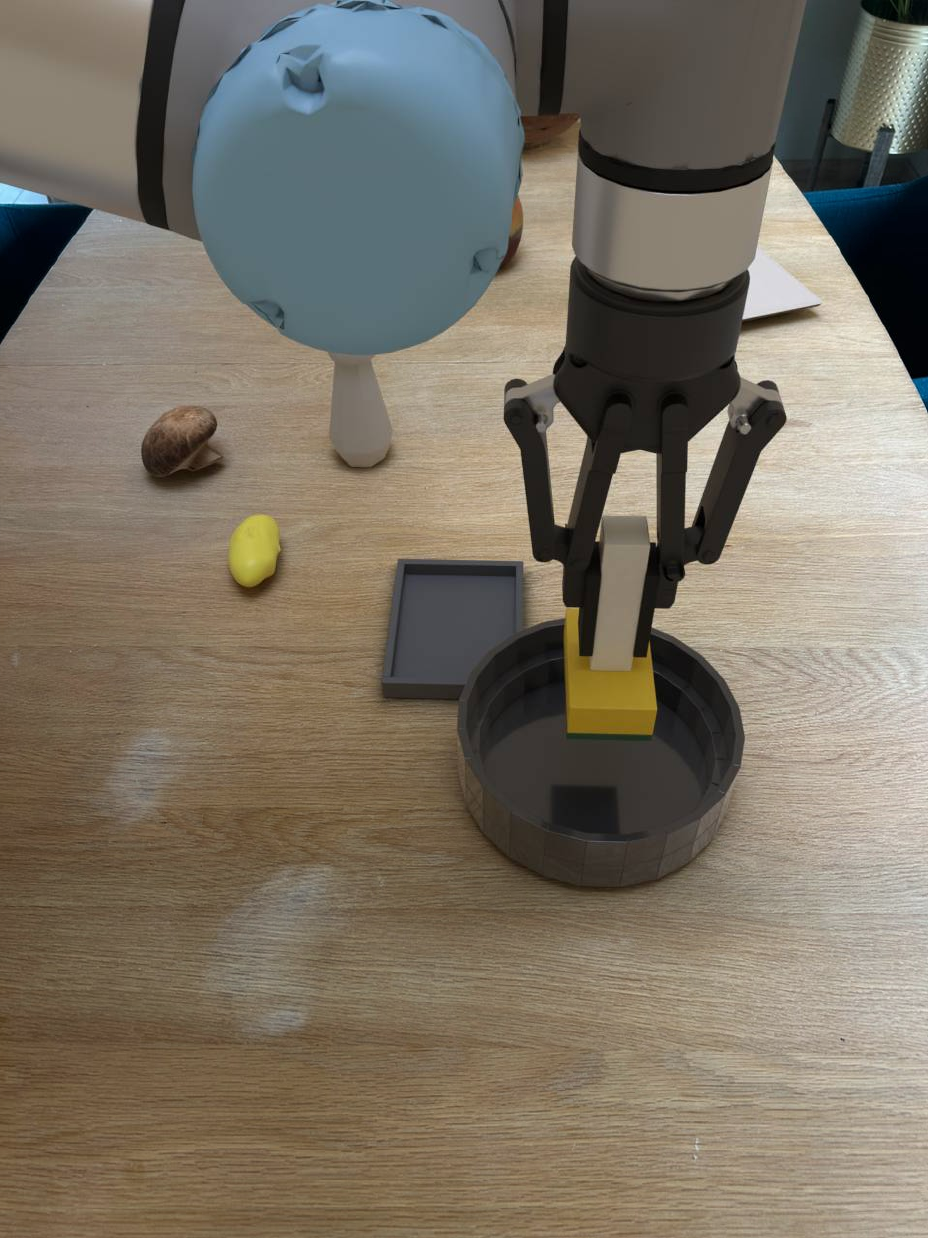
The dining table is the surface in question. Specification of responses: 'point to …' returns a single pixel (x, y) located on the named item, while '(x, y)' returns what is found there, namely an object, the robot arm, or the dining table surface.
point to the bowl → (596, 764)
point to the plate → (774, 290)
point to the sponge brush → (612, 645)
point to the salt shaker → (358, 412)
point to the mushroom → (180, 441)
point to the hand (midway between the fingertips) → (611, 639)
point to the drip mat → (448, 623)
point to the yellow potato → (254, 550)
